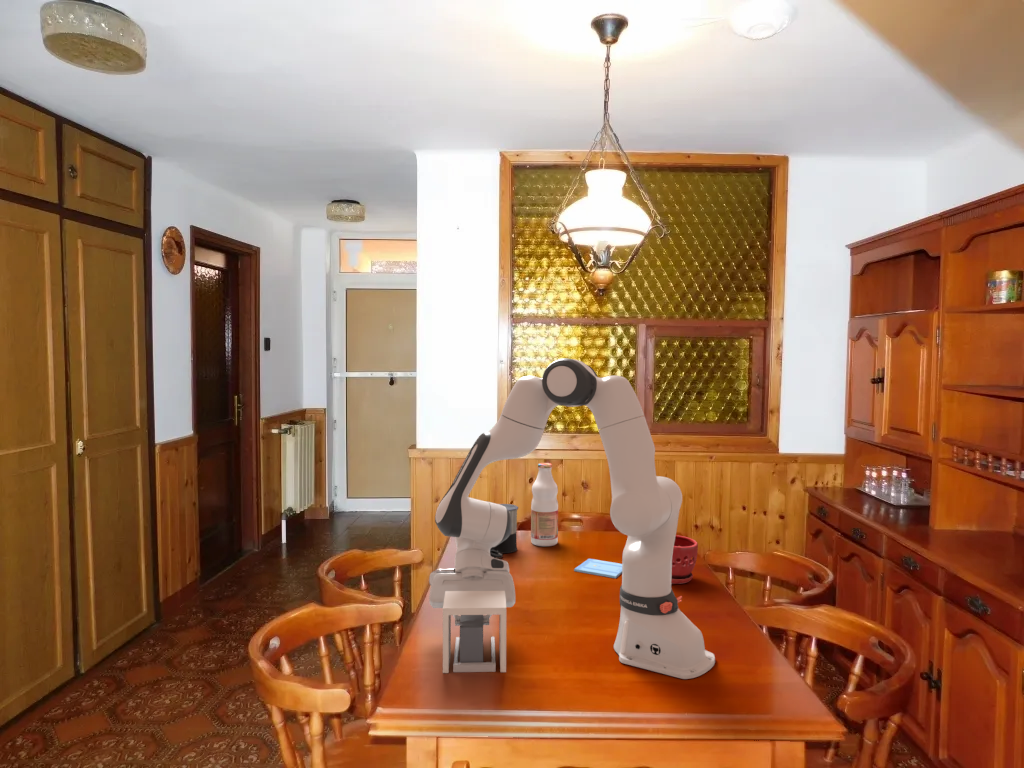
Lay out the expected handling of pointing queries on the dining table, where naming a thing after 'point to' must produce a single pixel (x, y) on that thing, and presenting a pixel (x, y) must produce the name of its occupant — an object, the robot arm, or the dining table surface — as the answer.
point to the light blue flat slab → (600, 568)
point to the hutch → (474, 606)
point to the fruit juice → (544, 508)
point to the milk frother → (510, 542)
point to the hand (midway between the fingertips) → (472, 624)
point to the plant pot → (683, 559)
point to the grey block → (471, 638)
